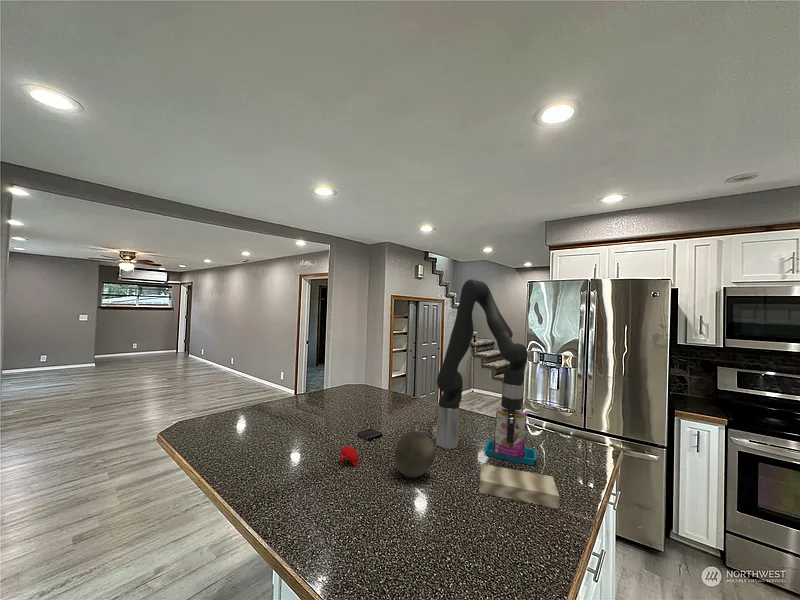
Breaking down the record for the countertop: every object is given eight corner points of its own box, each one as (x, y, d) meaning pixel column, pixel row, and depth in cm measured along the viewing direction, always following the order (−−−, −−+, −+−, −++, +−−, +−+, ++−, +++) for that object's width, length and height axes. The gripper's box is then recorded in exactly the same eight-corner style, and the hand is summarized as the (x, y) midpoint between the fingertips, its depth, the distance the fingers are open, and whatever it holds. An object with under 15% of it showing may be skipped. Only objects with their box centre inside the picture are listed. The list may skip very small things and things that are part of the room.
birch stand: (479, 492, 107) (479, 480, 108) (481, 474, 120) (481, 463, 120) (558, 509, 100) (559, 495, 101) (552, 488, 113) (552, 476, 113)
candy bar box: (493, 453, 124) (495, 410, 125) (493, 448, 129) (496, 406, 129) (524, 460, 120) (527, 415, 121) (524, 454, 125) (526, 411, 126)
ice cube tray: (535, 468, 129) (536, 460, 129) (484, 456, 137) (484, 449, 137) (536, 456, 139) (536, 449, 140) (488, 446, 147) (488, 440, 148)
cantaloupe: (405, 489, 107) (408, 442, 108) (387, 469, 120) (389, 428, 120) (441, 481, 113) (443, 437, 114) (420, 463, 126) (422, 424, 127)
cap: (334, 456, 121) (344, 451, 119) (342, 445, 127) (352, 440, 124) (346, 473, 122) (357, 468, 119) (353, 461, 127) (364, 457, 124)
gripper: (501, 390, 133) (499, 432, 133) (502, 398, 120) (499, 445, 119) (521, 392, 131) (518, 435, 130) (523, 401, 117) (521, 449, 117)
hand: (509, 439), depth 125 cm, fingers closed on candy bar box, 5 cm apart
